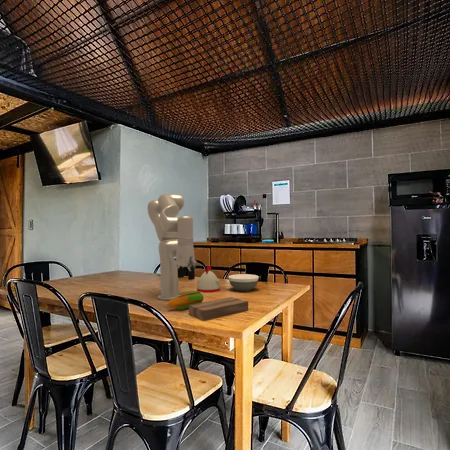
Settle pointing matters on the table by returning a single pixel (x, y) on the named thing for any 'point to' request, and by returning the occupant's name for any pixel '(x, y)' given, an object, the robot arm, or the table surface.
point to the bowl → (243, 281)
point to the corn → (186, 300)
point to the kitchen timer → (208, 282)
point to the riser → (218, 308)
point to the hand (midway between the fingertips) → (186, 278)
